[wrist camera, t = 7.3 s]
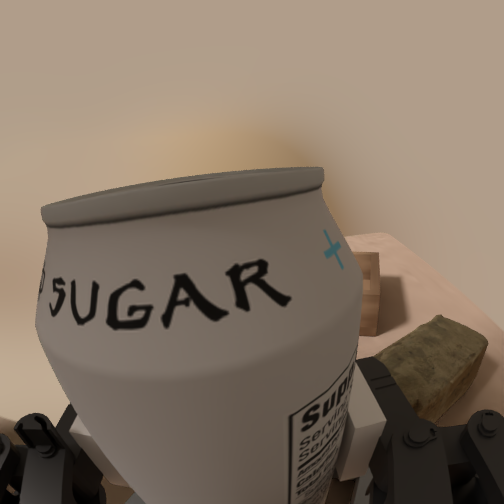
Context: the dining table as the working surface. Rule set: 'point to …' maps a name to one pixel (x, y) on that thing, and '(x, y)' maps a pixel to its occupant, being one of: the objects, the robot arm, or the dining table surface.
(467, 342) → the stone block
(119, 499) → the dining table surface
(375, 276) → the walnut bin
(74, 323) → the energy drink can
